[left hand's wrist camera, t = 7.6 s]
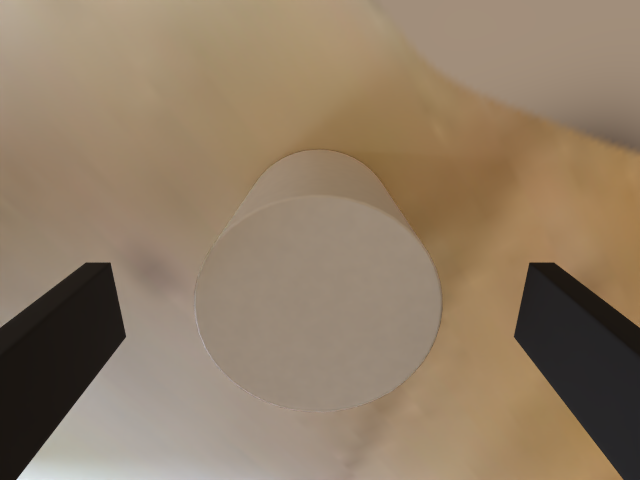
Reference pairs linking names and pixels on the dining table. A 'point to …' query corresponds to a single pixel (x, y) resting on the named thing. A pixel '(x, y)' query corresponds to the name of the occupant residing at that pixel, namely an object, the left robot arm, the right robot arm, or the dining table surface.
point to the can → (318, 288)
